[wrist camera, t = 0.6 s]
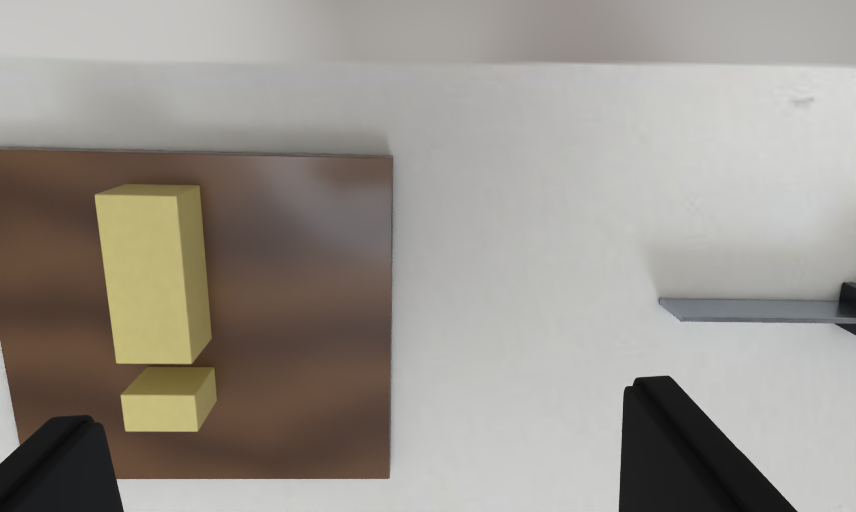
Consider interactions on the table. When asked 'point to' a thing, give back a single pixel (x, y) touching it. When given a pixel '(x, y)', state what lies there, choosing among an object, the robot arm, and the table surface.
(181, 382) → the butter pat
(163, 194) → the butter
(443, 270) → the table surface
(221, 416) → the butter board
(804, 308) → the screwdriver
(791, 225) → the table surface
